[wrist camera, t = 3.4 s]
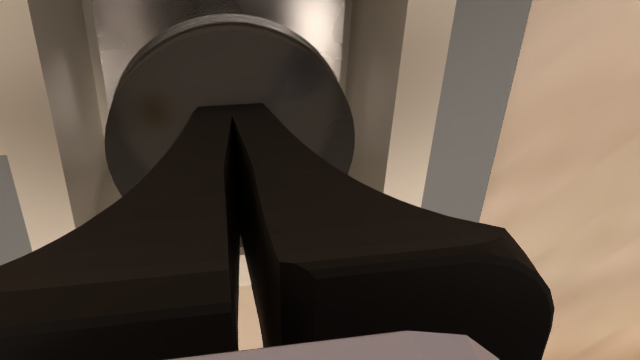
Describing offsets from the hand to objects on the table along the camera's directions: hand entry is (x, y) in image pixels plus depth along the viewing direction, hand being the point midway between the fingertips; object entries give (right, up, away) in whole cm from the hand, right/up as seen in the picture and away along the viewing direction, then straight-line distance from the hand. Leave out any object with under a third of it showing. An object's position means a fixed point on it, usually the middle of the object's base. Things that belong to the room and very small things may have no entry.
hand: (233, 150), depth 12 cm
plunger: (-1, +3, +5) cm, 6 cm away
